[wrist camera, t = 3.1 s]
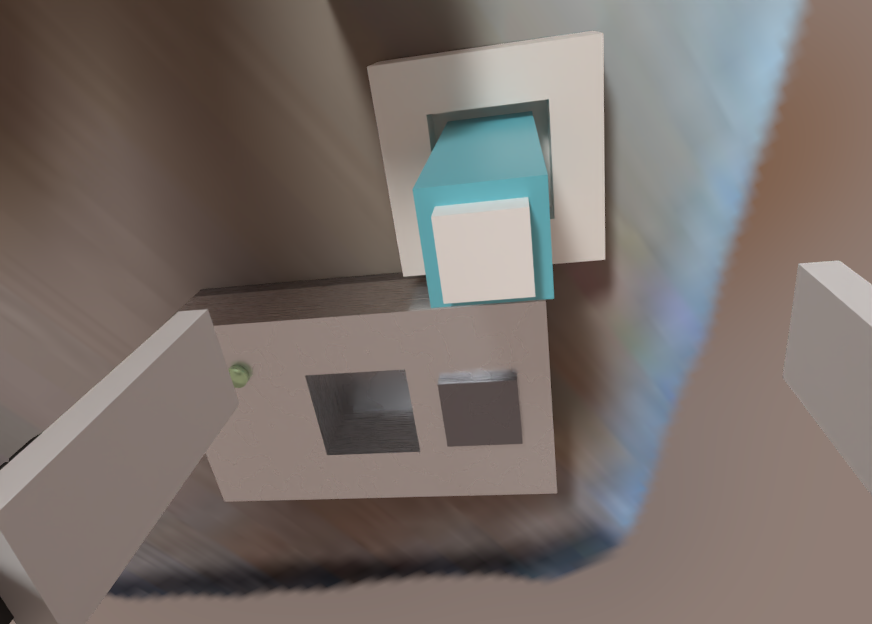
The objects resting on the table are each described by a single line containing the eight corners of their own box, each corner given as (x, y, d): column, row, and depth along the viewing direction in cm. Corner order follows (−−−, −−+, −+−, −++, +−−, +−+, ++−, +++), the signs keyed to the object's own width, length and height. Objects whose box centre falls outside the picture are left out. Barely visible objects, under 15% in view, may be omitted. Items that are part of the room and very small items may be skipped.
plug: (457, 202, 30) (427, 322, 19) (447, 121, 28) (407, 198, 17) (536, 194, 29) (556, 312, 18) (531, 111, 28) (550, 183, 16)
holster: (411, 254, 33) (403, 276, 30) (379, 61, 28) (366, 66, 26) (596, 238, 31) (605, 259, 29) (593, 30, 27) (603, 33, 24)
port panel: (255, 447, 40) (220, 507, 36) (201, 289, 35) (152, 334, 30) (551, 436, 37) (557, 500, 32) (540, 260, 32) (546, 305, 27)
